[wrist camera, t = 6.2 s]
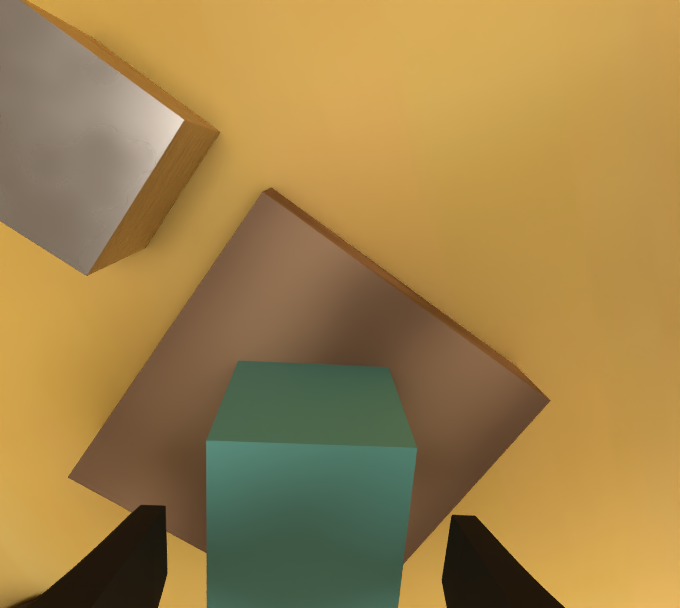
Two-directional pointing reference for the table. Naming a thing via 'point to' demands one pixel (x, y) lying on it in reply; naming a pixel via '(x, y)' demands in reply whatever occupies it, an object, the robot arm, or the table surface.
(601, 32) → the table surface
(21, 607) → the two-way radio
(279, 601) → the teal cube
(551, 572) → the table surface
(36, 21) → the steel cube
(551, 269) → the table surface
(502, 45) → the table surface
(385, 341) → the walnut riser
